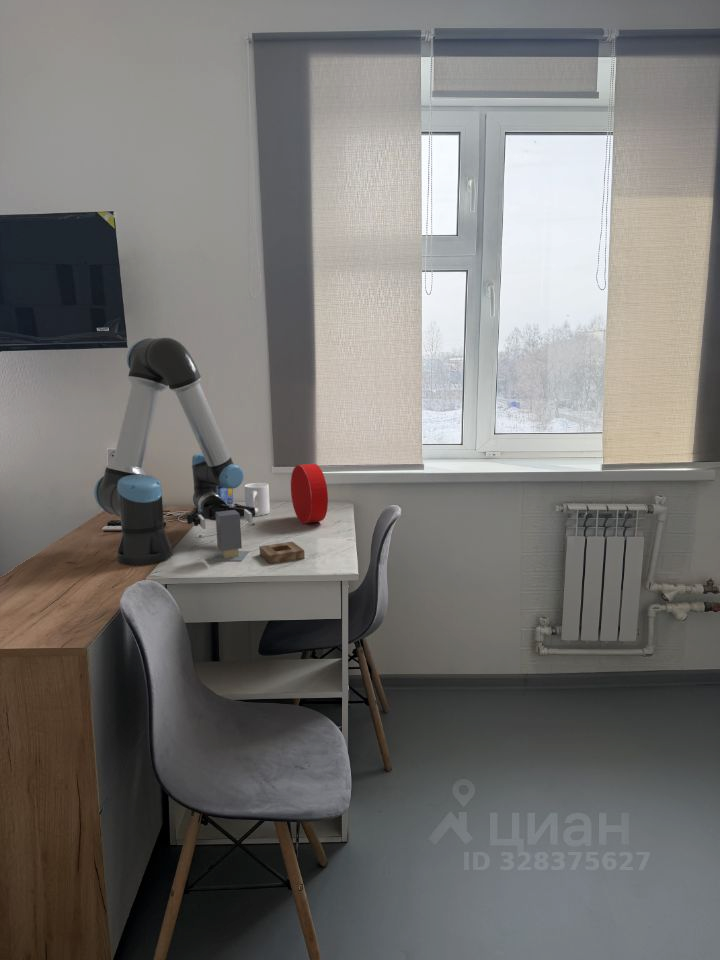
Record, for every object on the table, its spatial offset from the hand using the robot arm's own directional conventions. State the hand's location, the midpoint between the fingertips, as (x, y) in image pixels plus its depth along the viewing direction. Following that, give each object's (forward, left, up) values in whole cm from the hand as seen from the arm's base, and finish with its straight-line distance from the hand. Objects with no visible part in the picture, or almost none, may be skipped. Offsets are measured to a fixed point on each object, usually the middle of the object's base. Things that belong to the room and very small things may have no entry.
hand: (227, 521), depth 191 cm
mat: (+1, -3, -10) cm, 11 cm away
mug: (-4, +49, -10) cm, 50 cm away
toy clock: (+17, +39, -10) cm, 44 cm away
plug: (+1, -3, -9) cm, 10 cm away
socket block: (+16, -3, -10) cm, 19 cm away
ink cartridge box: (-18, +52, -10) cm, 56 cm away
